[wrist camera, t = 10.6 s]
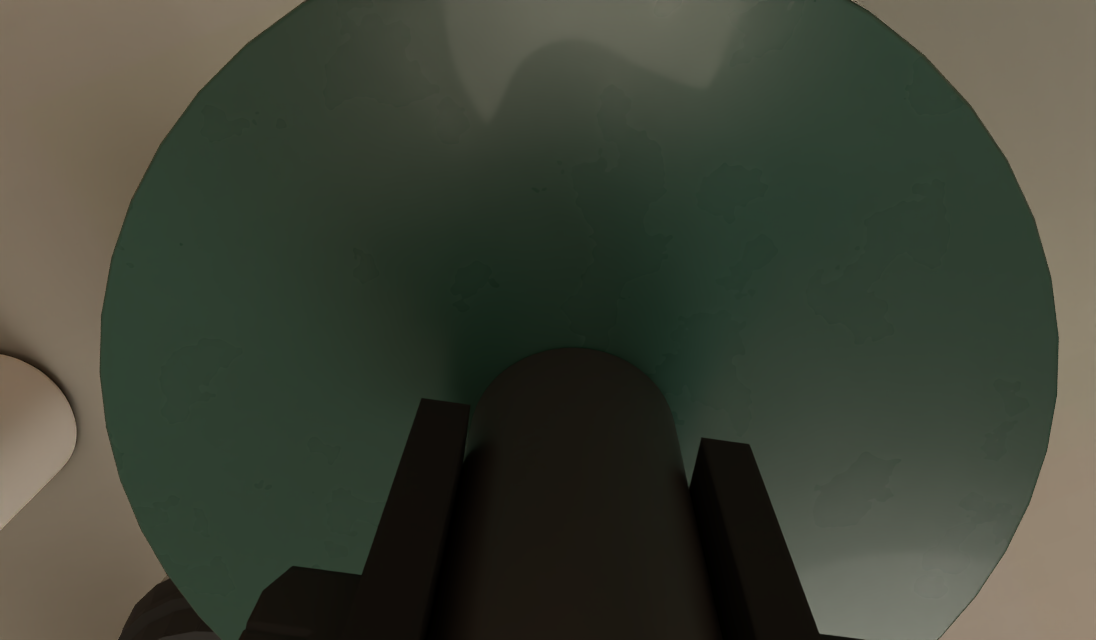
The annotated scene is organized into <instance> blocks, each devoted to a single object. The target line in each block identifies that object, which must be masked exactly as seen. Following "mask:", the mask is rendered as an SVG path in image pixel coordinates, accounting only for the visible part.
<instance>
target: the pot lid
mask: <svg viewBox="0 0 1096 640" xmlns="http://www.w3.org/2000/svg"><path fill="white" fill-rule="evenodd" d="M1058 342H1059V336H1058V328H1057V320H1056V312H1055V304H1054V296H1053V288H1052V280H1051V275H1050V271H1049V268H1048V264H1047V261H1046V257H1045V254H1044V250H1043V247H1042V243H1041V240H1040V236H1039V233H1038V229H1037V226H1036V222H1035V219H1034V216H1033V214H1032V212H1031V210H1030V208H1029V205H1028V203H1027V201H1026V199H1025V197H1024V195H1023V192H1022V190H1021V188H1020V186H1019V184H1018V182H1017V180H1016V177H1015V175H1014V173H1013V171H1012V169H1011V167H1010V164H1009V162H1008V160H1007V159H1006V157H1005V156H1004V154H1003V153H1002V151H1001V150H1000V148H999V147H998V145H997V144H996V142H995V141H994V139H993V138H992V136H991V135H990V133H989V132H988V130H987V129H986V127H985V126H984V124H983V123H982V121H981V120H980V118H979V117H978V115H977V114H976V112H975V111H974V109H973V108H972V106H971V105H970V104H969V103H968V102H967V101H966V100H965V99H964V98H963V96H962V95H961V94H960V93H959V92H958V91H957V90H956V89H955V88H954V87H953V86H952V85H951V83H950V82H949V81H948V80H947V79H946V78H945V77H944V76H943V75H942V74H941V73H940V72H939V70H938V69H937V68H936V67H935V66H934V65H933V64H932V63H931V62H930V61H929V60H928V59H927V57H926V56H925V55H923V54H922V53H921V52H920V51H918V50H917V49H916V48H915V47H913V46H912V45H911V44H910V43H908V42H907V41H906V40H905V39H903V38H902V37H901V36H900V35H898V34H897V33H896V32H895V31H893V30H892V29H891V28H890V27H888V26H887V25H886V24H885V23H883V22H882V21H881V20H880V19H878V18H877V17H876V16H874V15H873V14H872V13H871V12H869V11H868V10H866V9H864V8H863V7H861V6H859V5H857V4H856V3H854V2H852V1H850V0H306V1H304V2H302V3H301V4H300V5H298V6H297V7H296V8H294V9H293V10H292V11H290V12H289V13H287V14H286V15H285V16H283V17H282V18H281V19H279V20H278V21H277V22H275V23H274V24H273V25H271V26H270V27H269V28H267V29H266V30H264V31H263V32H262V33H260V34H259V35H258V36H256V37H255V38H254V39H252V40H251V41H250V42H248V43H247V44H246V45H245V46H244V47H243V48H242V49H241V50H240V51H239V52H238V53H237V54H236V55H235V56H234V57H233V58H232V59H231V60H230V61H229V62H228V63H227V64H226V65H225V66H224V67H223V68H222V69H221V70H220V71H219V72H218V73H217V74H216V75H215V76H214V77H213V78H212V79H211V80H210V81H209V82H208V83H207V84H206V85H205V86H204V87H203V88H202V89H201V90H200V91H199V92H198V93H197V95H196V96H195V97H194V99H193V100H192V101H191V103H190V104H189V106H188V107H187V108H186V110H185V111H184V112H183V114H182V115H181V116H180V118H179V119H178V120H177V122H176V123H175V125H174V126H173V127H172V129H171V130H170V131H169V133H168V134H167V135H166V137H165V138H164V140H163V141H162V142H161V144H160V145H159V147H158V149H157V151H156V153H155V155H154V157H153V159H152V161H151V163H150V165H149V166H148V168H147V170H146V172H145V174H144V176H143V178H142V180H141V182H140V184H139V186H138V188H137V189H136V191H135V193H134V195H133V197H132V199H131V202H130V205H129V207H128V210H127V213H126V216H125V219H124V222H123V225H122V228H121V231H120V234H119V237H118V240H117V243H116V246H115V249H114V252H113V255H112V258H111V264H110V269H109V275H108V280H107V286H106V292H105V297H104V303H103V309H102V314H101V343H100V379H101V388H102V396H103V404H104V413H105V421H106V428H107V432H108V436H109V440H110V444H111V447H112V451H113V455H114V459H115V462H116V466H117V470H118V474H119V477H120V481H121V483H122V485H123V488H124V490H125V493H126V495H127V497H128V500H129V502H130V505H131V507H132V509H133V512H134V514H135V517H136V519H137V521H138V524H139V526H140V529H141V531H142V532H143V534H144V536H145V537H146V539H147V541H148V543H149V544H150V546H151V548H152V549H153V551H154V553H155V555H156V556H157V558H158V560H159V561H160V563H161V565H162V567H163V568H164V570H165V572H166V574H167V575H168V577H169V578H170V579H171V580H172V582H173V583H174V584H175V586H176V587H177V588H178V590H179V591H180V592H181V594H182V595H183V596H184V598H185V599H186V600H187V601H188V603H189V604H190V605H191V607H192V608H193V609H194V611H195V612H196V613H197V615H198V616H199V617H200V618H201V619H202V620H203V621H204V622H205V623H206V624H207V625H208V626H209V627H210V628H211V630H212V631H213V632H214V633H215V634H216V635H217V636H218V637H219V638H220V639H221V640H239V638H240V636H241V634H242V632H243V630H245V629H246V624H247V621H248V619H249V617H250V615H251V613H252V611H253V609H254V607H255V605H256V603H257V601H258V599H259V597H260V595H261V593H262V591H263V590H264V589H265V588H266V587H268V586H269V585H270V584H271V583H272V582H274V581H275V580H276V579H277V578H278V577H280V576H281V575H282V574H283V573H284V572H286V571H287V570H288V569H289V568H290V567H292V566H299V567H306V568H314V569H321V570H329V571H336V572H344V573H351V574H359V575H362V572H363V569H364V566H365V563H366V560H367V557H368V554H369V551H370V549H371V546H372V543H373V540H374V537H375V534H376V531H377V528H378V525H379V522H380V519H381V516H382V513H383V510H384V507H385V504H386V501H387V498H388V495H389V492H390V489H391V486H392V483H393V480H394V478H395V475H396V472H397V469H398V466H399V463H400V460H401V457H402V454H403V451H404V448H405V445H406V442H407V439H408V436H409V433H410V430H411V427H412V424H413V421H414V418H415V415H416V412H417V409H418V407H419V404H420V401H421V398H426V399H433V400H440V401H447V402H454V403H461V404H469V405H470V413H469V421H468V429H467V437H466V445H465V453H464V460H463V466H462V471H461V476H460V481H459V485H458V490H457V495H456V499H455V504H454V509H453V514H452V518H451V523H450V528H449V532H448V537H447V542H446V547H445V551H444V556H443V561H442V565H441V570H440V575H439V580H438V584H437V589H436V594H435V598H434V603H433V608H432V613H431V617H430V622H429V627H428V631H427V636H426V640H723V638H722V634H721V629H720V625H719V621H718V616H717V612H716V607H715V603H714V598H713V594H712V589H711V585H710V580H709V576H708V571H707V567H706V562H705V558H704V553H703V549H702V544H701V540H700V535H699V531H698V527H697V522H696V518H695V513H694V509H693V504H692V500H691V495H690V491H689V487H690V483H691V479H692V474H693V470H694V466H695V462H696V458H697V454H698V449H699V445H700V441H701V437H703V438H710V439H717V440H724V441H731V442H738V443H745V444H750V447H751V449H752V452H753V455H754V457H755V460H756V463H757V466H758V468H759V471H760V474H761V476H762V479H763V482H764V485H765V487H766V490H767V493H768V495H769V498H770V501H771V504H772V506H773V509H774V512H775V514H776V517H777V520H778V523H779V525H780V528H781V531H782V533H783V536H784V539H785V542H786V544H787V547H788V550H789V552H790V555H791V558H792V561H793V563H794V566H795V569H796V571H797V574H798V577H799V579H800V582H801V585H802V588H803V590H804V593H805V596H806V598H807V601H808V604H809V607H810V609H811V612H812V615H813V617H814V620H815V623H816V626H817V628H818V631H819V634H826V635H834V636H841V637H849V638H856V639H864V640H938V639H939V638H940V637H941V636H942V635H943V634H944V633H945V632H946V630H947V629H948V628H949V627H950V626H951V625H952V623H953V622H954V621H955V620H956V619H957V618H958V617H959V615H960V614H961V613H962V612H963V611H964V610H965V608H966V607H967V606H968V605H969V604H970V603H971V602H972V600H973V599H974V598H975V597H976V595H977V594H978V592H979V591H980V589H981V588H982V586H983V585H984V583H985V582H986V580H987V579H988V577H989V576H990V574H991V573H992V571H993V570H994V568H995V567H996V565H997V564H998V562H999V561H1000V559H1001V558H1002V556H1003V555H1004V553H1005V552H1006V550H1007V548H1008V546H1009V544H1010V542H1011V540H1012V538H1013V536H1014V534H1015V532H1016V530H1017V528H1018V525H1019V523H1020V521H1021V519H1022V517H1023V515H1024V513H1025V511H1026V509H1027V507H1028V505H1029V503H1030V500H1031V497H1032V494H1033V491H1034V488H1035V485H1036V482H1037V479H1038V476H1039V473H1040V470H1041V467H1042V464H1043V461H1044V458H1045V455H1046V452H1047V448H1048V442H1049V436H1050V431H1051V425H1052V420H1053V414H1054V409H1055V403H1056V397H1057V376H1058Z"/></svg>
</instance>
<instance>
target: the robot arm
mask: <svg viewBox="0 0 1096 640" xmlns="http://www.w3.org/2000/svg"><path fill="white" fill-rule="evenodd" d="M469 413H470V405H469V404H461V403H454V402H447V401H440V400H433V399H426V398H421V401H420V404H419V407H418V409H417V412H416V415H415V418H414V421H413V424H412V427H411V430H410V433H409V436H408V439H407V442H406V445H405V448H404V451H403V454H402V457H401V460H400V463H399V466H398V469H397V472H396V475H395V478H394V480H393V483H392V486H391V489H390V492H389V495H388V498H387V501H386V504H385V507H384V510H383V513H382V516H381V519H380V522H379V525H378V528H377V531H376V534H375V537H374V540H373V543H372V546H371V549H370V551H369V554H368V557H367V560H366V563H365V566H364V569H363V572H362V575H359V574H351V573H344V572H336V571H329V570H321V569H314V568H306V567H299V566H292V567H290V568H289V569H288V570H287V571H286V572H284V573H283V574H282V575H281V576H280V577H278V578H277V579H276V580H275V581H274V582H272V583H271V584H270V585H269V586H268V587H266V588H265V589H264V590H263V591H262V593H261V595H260V597H259V599H258V601H257V603H256V605H255V607H254V609H253V611H252V613H251V615H250V617H249V619H248V621H247V624H246V629H245V630H243V632H242V634H241V636H240V638H239V640H426V636H427V631H428V627H429V622H430V617H431V613H432V608H433V603H434V598H435V594H436V589H437V584H438V580H439V575H440V570H441V565H442V561H443V556H444V551H445V547H446V542H447V537H448V532H449V528H450V523H451V518H452V514H453V509H454V504H455V499H456V495H457V490H458V485H459V481H460V476H461V471H462V466H463V460H464V453H465V445H466V437H467V429H468V421H469ZM689 491H690V495H691V500H692V504H693V509H694V513H695V518H696V522H697V527H698V531H699V535H700V540H701V544H702V549H703V553H704V558H705V562H706V567H707V571H708V576H709V580H710V585H711V589H712V594H713V598H714V603H715V607H716V612H717V616H718V621H719V625H720V629H721V634H722V638H723V640H864V639H856V638H849V637H841V636H834V635H826V634H819V631H818V628H817V626H816V623H815V620H814V617H813V615H812V612H811V609H810V607H809V604H808V601H807V598H806V596H805V593H804V590H803V588H802V585H801V582H800V579H799V577H798V574H797V571H796V569H795V566H794V563H793V561H792V558H791V555H790V552H789V550H788V547H787V544H786V542H785V539H784V536H783V533H782V531H781V528H780V525H779V523H778V520H777V517H776V514H775V512H774V509H773V506H772V504H771V501H770V498H769V495H768V493H767V490H766V487H765V485H764V482H763V479H762V476H761V474H760V471H759V468H758V466H757V463H756V460H755V457H754V455H753V452H752V449H751V447H750V444H745V443H738V442H731V441H724V440H717V439H710V438H703V437H701V441H700V445H699V449H698V454H697V458H696V462H695V466H694V470H693V474H692V479H691V483H690V487H689Z"/></svg>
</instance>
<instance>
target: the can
mask: <svg viewBox="0 0 1096 640" xmlns="http://www.w3.org/2000/svg"><path fill="white" fill-rule="evenodd" d="M76 436H77V430H76V422H75V418H74V414H73V412H72V409H71V407H70V405H69V403H68V401H67V399H66V397H65V395H64V394H63V392H62V391H61V390H60V388H59V387H58V386H57V385H56V384H55V383H54V382H53V381H52V380H51V379H50V378H49V377H48V376H47V375H45V374H44V373H43V372H41V371H40V370H38V369H37V368H35V367H33V366H32V365H30V364H28V363H26V362H23V361H21V360H19V359H16V358H13V357H10V356H6V355H2V354H0V530H1V529H2V528H3V527H4V526H5V525H6V524H7V523H8V522H9V521H10V520H11V519H12V518H13V517H14V516H15V515H16V514H17V513H18V512H19V511H20V510H21V509H22V508H23V507H24V506H25V505H26V504H27V503H28V502H29V501H30V500H31V499H32V498H33V497H34V496H35V495H36V494H37V493H38V492H39V491H40V490H41V489H42V488H43V487H44V486H45V485H46V484H47V483H48V482H49V481H50V480H51V479H52V478H53V477H54V476H55V475H56V474H57V473H58V472H59V471H60V470H61V469H62V467H63V466H64V465H65V464H66V463H67V461H68V460H69V458H70V457H71V455H72V453H73V450H74V448H75V444H76Z"/></svg>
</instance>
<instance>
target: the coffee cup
mask: <svg viewBox="0 0 1096 640" xmlns="http://www.w3.org/2000/svg"><path fill="white" fill-rule="evenodd" d="M118 640H221V639H220V638H219V637H218V636H217V635H216V634H215V633H214V632H213V631H212V630H211V628H210V627H209V626H208V625H207V624H206V623H205V622H204V621H203V620H202V619H201V618H200V617H199V616H198V615H197V613H196V612H195V611H194V609H193V608H192V607H191V605H190V604H189V603H188V601H187V600H186V599H185V598H184V596H183V595H182V594H181V592H180V591H179V590H178V588H177V587H176V586H175V584H174V583H173V582H172V580H171V579H170V578H169V577H168V575H167V576H166V577H165V578H164V580H163V581H162V582H161V583H159V584H157V585H156V586H155V587H154V588H153V589H152V590H150V591H149V592H148V593H147V594H146V595H145V596H144V597H143V598H142V599H141V600H140V601H139V602H138V603H137V604H136V605H135V606H134V608H133V610H132V612H131V614H130V616H129V618H128V620H127V622H126V624H125V626H124V628H123V630H122V633H121V635H120V637H119V639H118Z"/></svg>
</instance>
